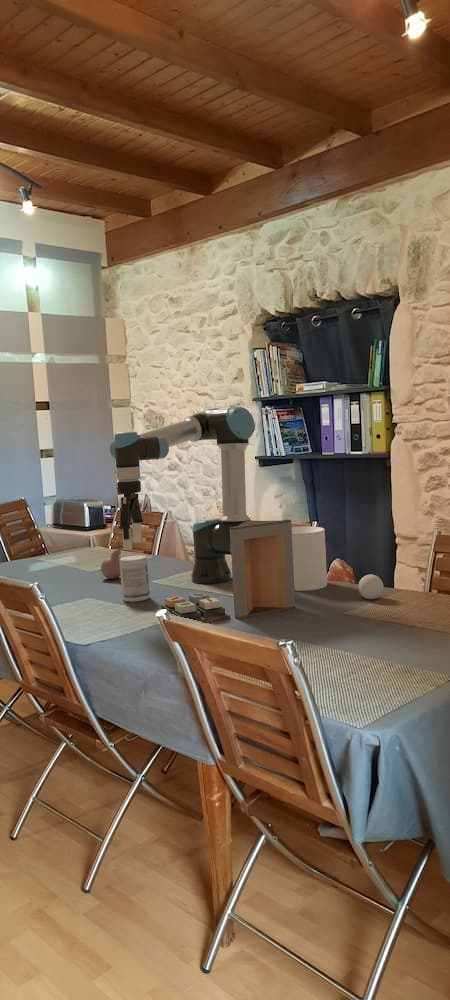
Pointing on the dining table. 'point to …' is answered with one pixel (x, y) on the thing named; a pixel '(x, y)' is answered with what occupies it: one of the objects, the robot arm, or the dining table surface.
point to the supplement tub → (134, 578)
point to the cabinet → (262, 567)
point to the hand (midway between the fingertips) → (132, 546)
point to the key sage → (185, 607)
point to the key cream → (209, 603)
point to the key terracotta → (174, 601)
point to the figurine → (111, 565)
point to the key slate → (197, 597)
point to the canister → (309, 558)
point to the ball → (370, 586)
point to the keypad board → (201, 613)
